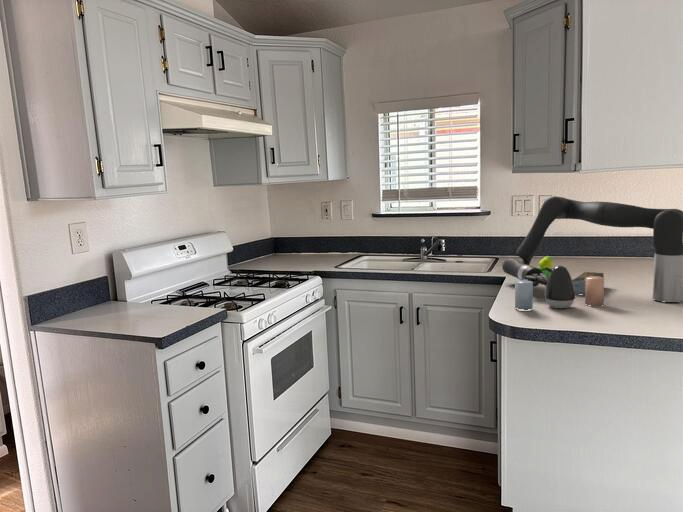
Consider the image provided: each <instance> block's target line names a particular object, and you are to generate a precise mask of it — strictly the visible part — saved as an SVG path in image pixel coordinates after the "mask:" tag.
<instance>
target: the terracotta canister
mask: <svg viewBox="0 0 683 512" xmlns="http://www.w3.org/2000/svg"><path fill="white" fill-rule="evenodd" d="M584 299H585V300H584V305H585V304H587V305H591V306H602V305H603V306H604V303H605V277H604V278H603V277H597V276H589V277H586V289H585V296H584ZM603 306H602V307H603Z"/></svg>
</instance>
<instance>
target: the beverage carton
mask: <svg viewBox="0 0 683 512" xmlns="http://www.w3.org/2000/svg"><path fill="white" fill-rule="evenodd" d="M589 276H597V277H603V278H604V279H605V277H604V273H603V272H594V271H593V272H592V271H584V272H583V273H581V274H580V275H579V276H577V277H575V278H572V281H573V284H574V290H575V294H583V295H582V296H584V295H585V289H586V277H589Z"/></svg>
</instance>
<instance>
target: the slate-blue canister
mask: <svg viewBox="0 0 683 512" xmlns="http://www.w3.org/2000/svg"><path fill="white" fill-rule="evenodd" d="M533 289H534V286H533V282H532V281H526V280H520V279H519V280H515V281H514V309H515V308H518V309H524V310H528V309H532V308H533V307H534V306H533V303H534V300H533V298H534V297H533V295H534V294H533V293H534V292H533Z"/></svg>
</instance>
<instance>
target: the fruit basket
mask: <svg viewBox="0 0 683 512" xmlns="http://www.w3.org/2000/svg"><path fill="white" fill-rule="evenodd" d="M552 261H553V260H552V257H551V256H549V255H546V256H545V257H543V258H542V259H541V260H539V263H538V265H539V266H540V267H539V266H538V267H537V268H538V269H540V270H541V271H542V272H543V274H544V275H547V276H548V277H549V275H550V272H549V271H547V270H545V267H548V268H550V269H553V268H554V267H553V262H552Z"/></svg>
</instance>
